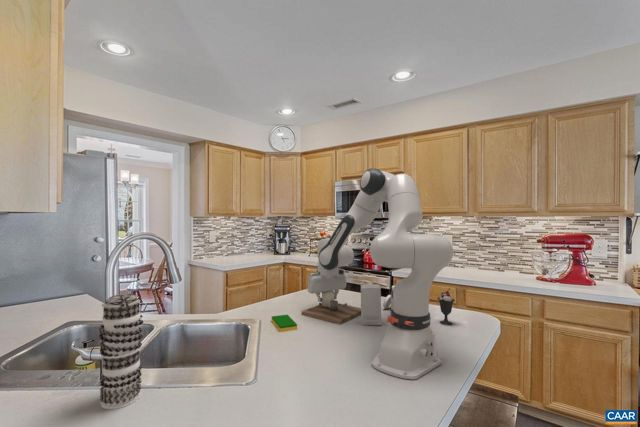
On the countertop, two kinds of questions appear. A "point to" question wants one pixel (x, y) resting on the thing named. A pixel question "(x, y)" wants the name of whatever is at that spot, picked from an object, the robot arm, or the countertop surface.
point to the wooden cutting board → (333, 313)
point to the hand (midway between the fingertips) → (327, 300)
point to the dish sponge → (284, 323)
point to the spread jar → (389, 300)
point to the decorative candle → (120, 351)
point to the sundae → (446, 306)
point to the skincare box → (371, 304)
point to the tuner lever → (329, 300)
